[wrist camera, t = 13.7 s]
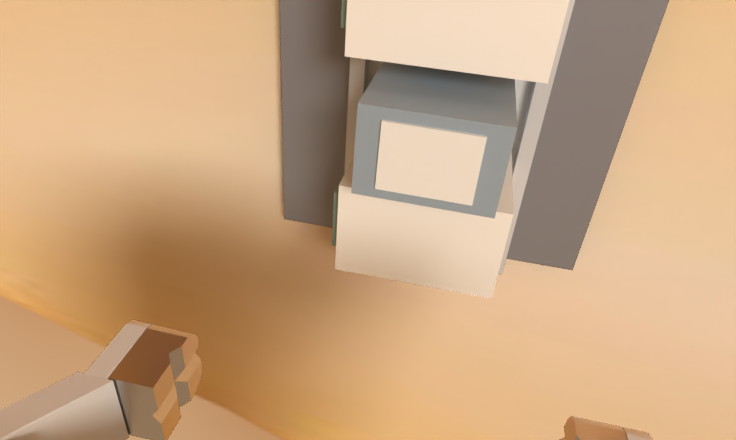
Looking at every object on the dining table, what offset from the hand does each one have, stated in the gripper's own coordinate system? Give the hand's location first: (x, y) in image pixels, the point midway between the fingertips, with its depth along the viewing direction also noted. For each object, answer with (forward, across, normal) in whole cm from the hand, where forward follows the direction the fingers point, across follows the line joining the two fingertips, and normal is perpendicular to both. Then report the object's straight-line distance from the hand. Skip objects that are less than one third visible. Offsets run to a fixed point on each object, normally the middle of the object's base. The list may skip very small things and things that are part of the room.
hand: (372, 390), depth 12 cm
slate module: (+20, 0, 0) cm, 21 cm away
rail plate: (+23, 0, 0) cm, 23 cm away
